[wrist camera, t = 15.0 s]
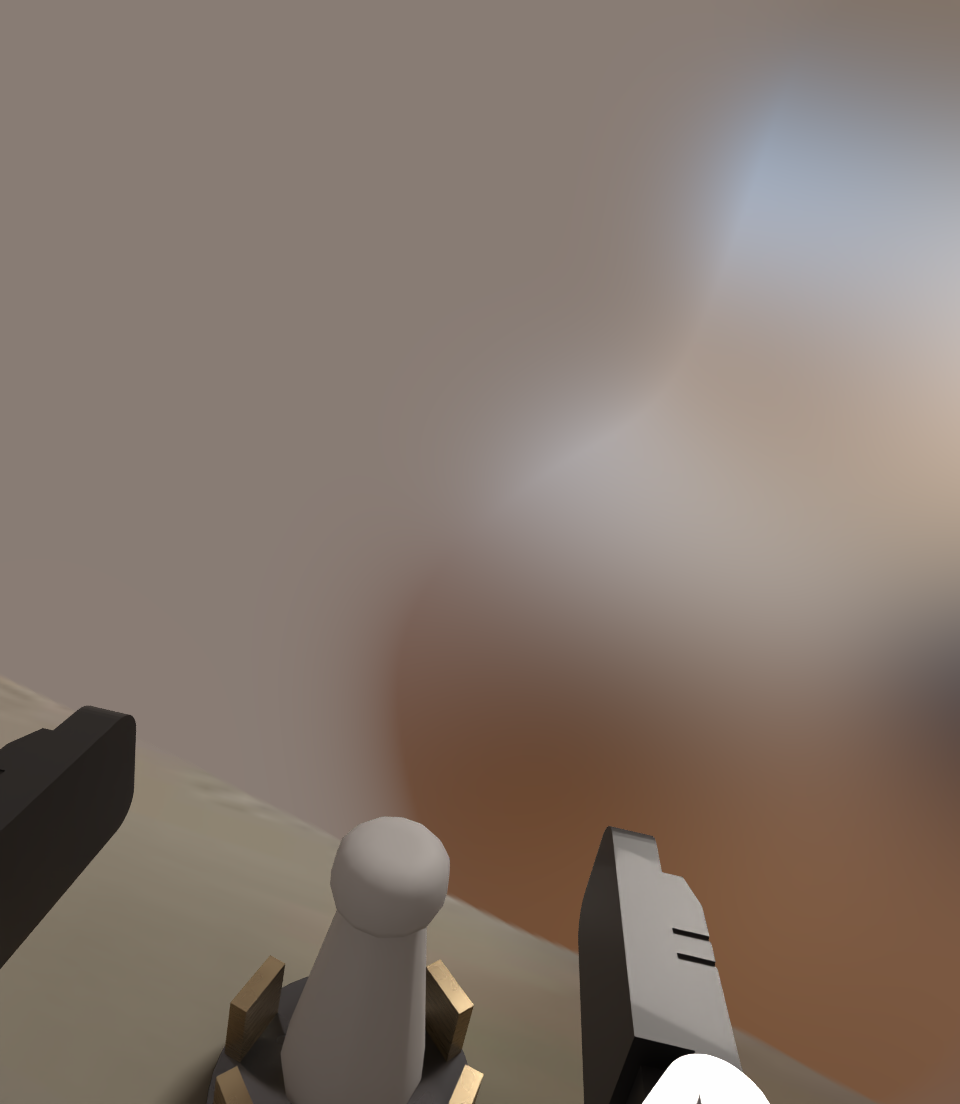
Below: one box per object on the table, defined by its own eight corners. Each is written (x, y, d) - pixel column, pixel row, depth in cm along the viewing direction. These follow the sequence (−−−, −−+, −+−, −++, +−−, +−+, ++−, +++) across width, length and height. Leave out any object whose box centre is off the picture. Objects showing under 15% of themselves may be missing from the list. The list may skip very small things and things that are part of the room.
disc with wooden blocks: (505, 1052, 34) (522, 994, 32) (395, 1341, 24) (414, 1273, 22) (308, 946, 37) (318, 889, 36) (139, 1161, 27) (144, 1093, 26)
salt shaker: (358, 1207, 26) (419, 943, 22) (243, 1109, 28) (278, 854, 24) (439, 1073, 31) (501, 838, 27) (336, 1000, 33) (378, 772, 29)
